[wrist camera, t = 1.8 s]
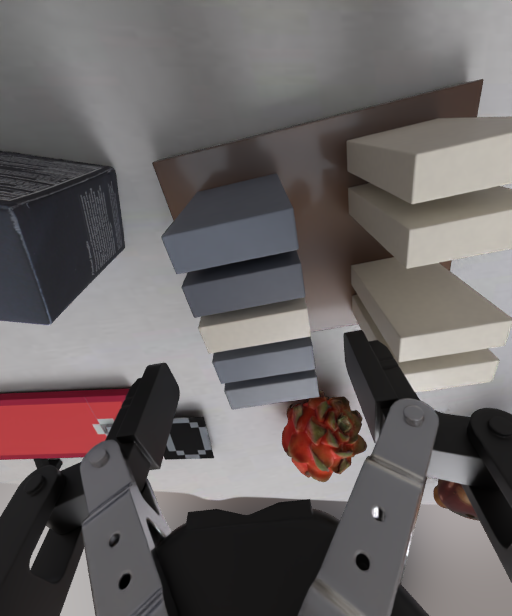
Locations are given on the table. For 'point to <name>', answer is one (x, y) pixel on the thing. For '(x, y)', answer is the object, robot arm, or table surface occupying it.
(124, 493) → the robot arm
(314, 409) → the dragon fruit
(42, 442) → the red board with handle
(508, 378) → the table surface
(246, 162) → the board
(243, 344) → the cream thin block
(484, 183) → the white books
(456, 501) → the decorative turtle
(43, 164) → the small box
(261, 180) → the grey books
